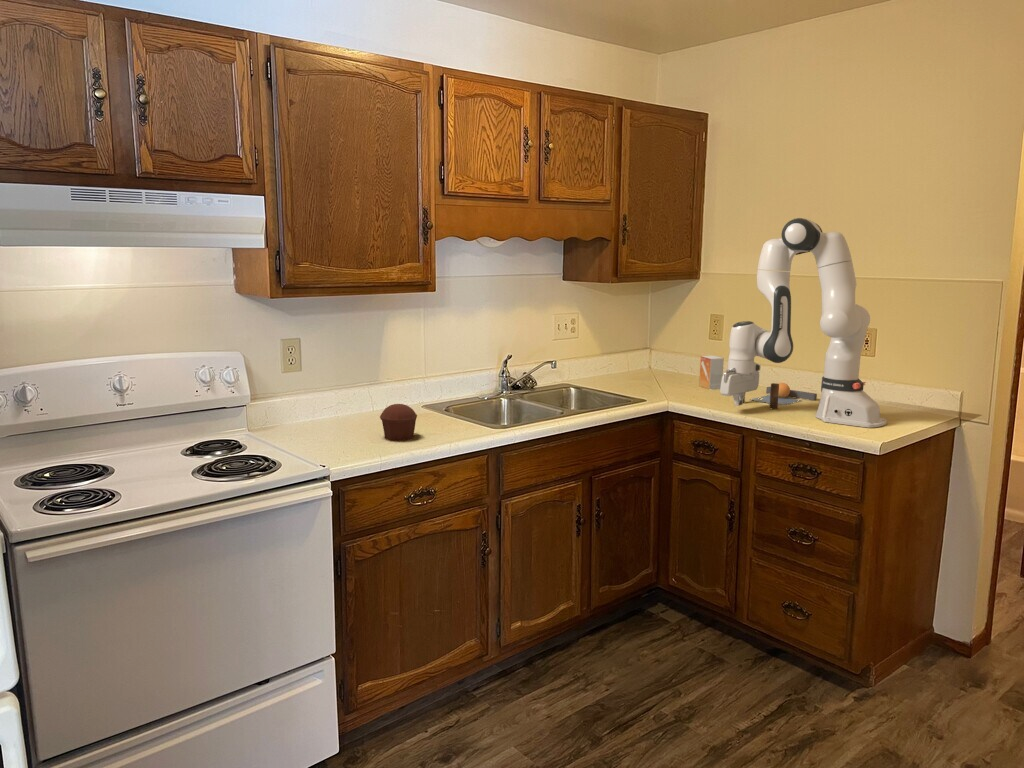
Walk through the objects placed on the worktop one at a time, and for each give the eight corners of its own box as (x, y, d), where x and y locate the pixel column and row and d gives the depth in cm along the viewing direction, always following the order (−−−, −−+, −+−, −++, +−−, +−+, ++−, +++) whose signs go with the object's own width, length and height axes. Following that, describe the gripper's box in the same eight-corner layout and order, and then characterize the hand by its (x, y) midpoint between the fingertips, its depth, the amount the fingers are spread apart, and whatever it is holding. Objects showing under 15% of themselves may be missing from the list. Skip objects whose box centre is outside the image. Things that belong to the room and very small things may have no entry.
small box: (698, 386, 327) (700, 355, 324) (712, 385, 329) (713, 355, 326) (709, 389, 319) (710, 358, 317) (722, 389, 321) (724, 357, 319)
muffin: (423, 439, 235) (423, 406, 233) (388, 443, 229) (388, 410, 227) (408, 431, 245) (407, 399, 243) (374, 435, 239) (374, 403, 237)
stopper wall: (816, 400, 299) (817, 393, 299) (814, 400, 298) (814, 394, 297) (768, 392, 313) (769, 386, 313) (766, 393, 312) (766, 387, 312)
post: (778, 408, 283) (780, 384, 282) (775, 409, 281) (776, 384, 280) (771, 407, 285) (773, 383, 284) (767, 408, 283) (769, 383, 282)
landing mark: (801, 400, 297) (801, 400, 297) (783, 405, 288) (783, 405, 288) (768, 395, 307) (768, 395, 307) (749, 400, 298) (749, 399, 298)
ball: (794, 391, 303) (790, 380, 299) (787, 402, 300) (782, 392, 297) (781, 388, 307) (776, 378, 304) (773, 399, 305) (768, 389, 302)
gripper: (732, 371, 267) (730, 410, 270) (763, 365, 281) (760, 402, 284) (716, 369, 272) (714, 407, 274) (747, 363, 286) (745, 400, 288)
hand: (738, 405), depth 279 cm, fingers closed
